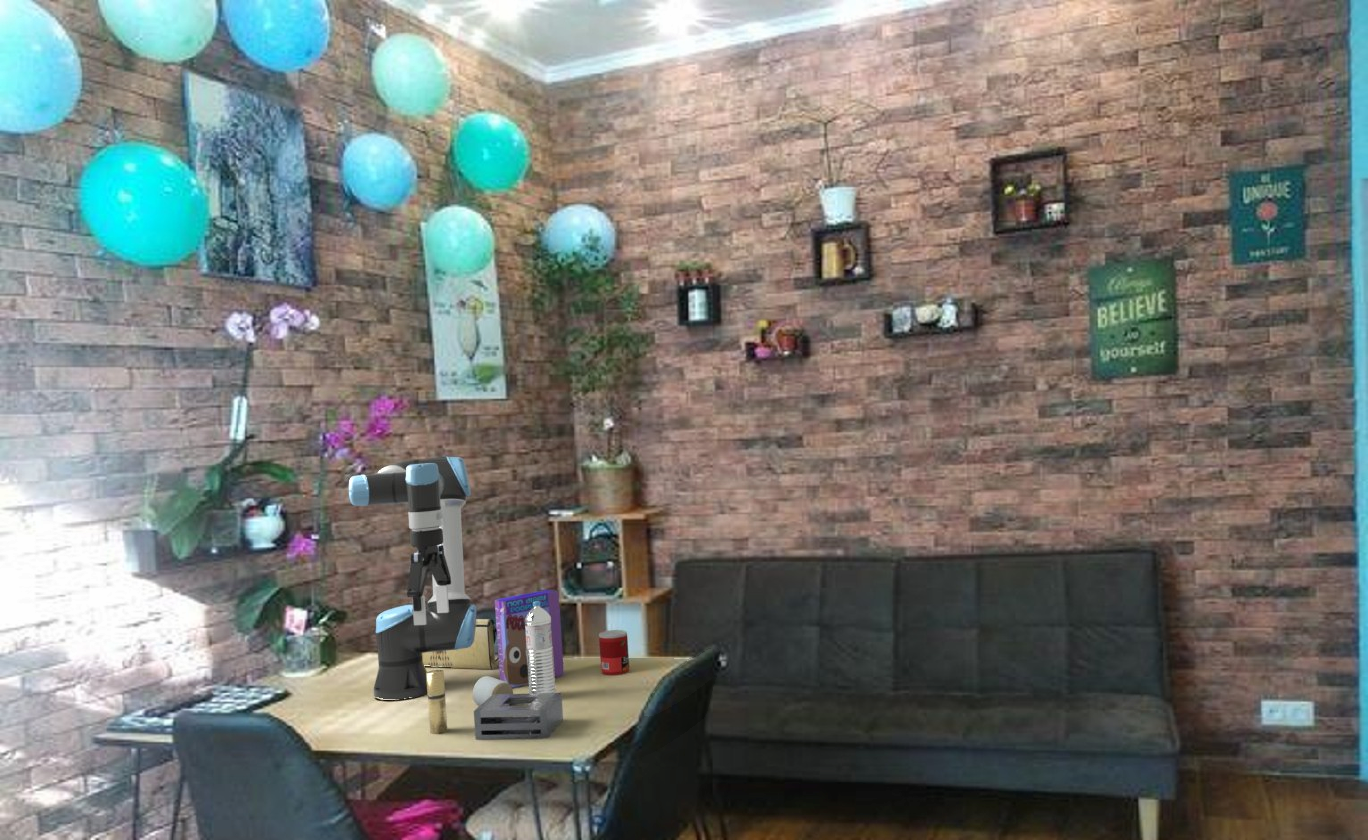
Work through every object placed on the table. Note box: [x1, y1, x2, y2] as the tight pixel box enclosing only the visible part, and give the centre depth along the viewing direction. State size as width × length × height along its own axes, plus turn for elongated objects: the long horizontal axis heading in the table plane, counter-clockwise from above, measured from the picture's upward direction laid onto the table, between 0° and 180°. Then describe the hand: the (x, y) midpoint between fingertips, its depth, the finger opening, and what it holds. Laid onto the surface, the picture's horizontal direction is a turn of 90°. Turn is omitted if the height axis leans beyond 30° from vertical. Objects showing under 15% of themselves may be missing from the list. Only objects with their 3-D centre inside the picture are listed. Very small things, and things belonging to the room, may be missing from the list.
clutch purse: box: [422, 618, 499, 671], centre depth 291 cm, size 30×7×15 cm, turn 70°
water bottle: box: [524, 601, 557, 694], centre depth 251 cm, size 7×7×25 cm
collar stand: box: [473, 692, 564, 740], centre depth 225 cm, size 17×13×6 cm
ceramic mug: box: [472, 675, 514, 707], centre depth 245 cm, size 11×8×8 cm
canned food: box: [598, 629, 630, 676], centre depth 272 cm, size 8×8×11 cm
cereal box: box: [494, 589, 565, 690], centre depth 268 cm, size 17×5×24 cm, turn 129°
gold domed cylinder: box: [426, 669, 448, 735], centre depth 228 cm, size 4×4×14 cm
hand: (432, 618), depth 228 cm, fingers open, 13 cm apart
